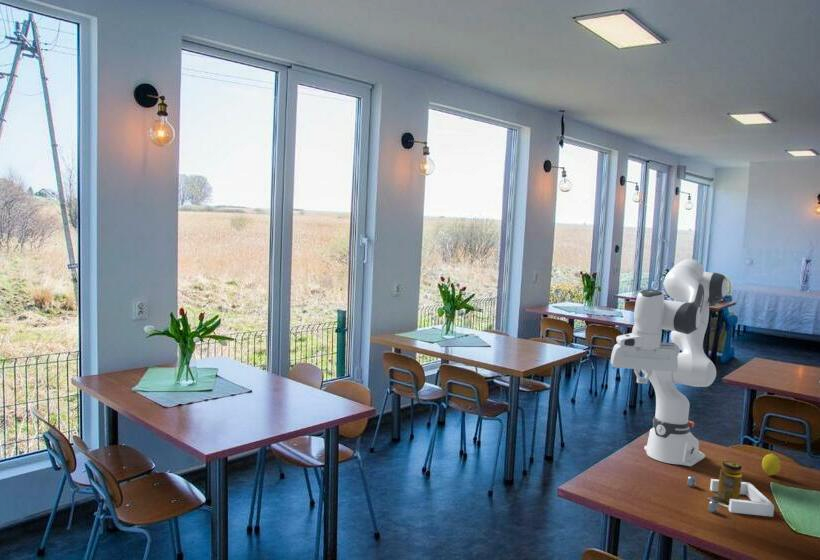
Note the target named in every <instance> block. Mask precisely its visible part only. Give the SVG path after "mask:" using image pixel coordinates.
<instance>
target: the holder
mask: <svg viewBox="0 0 820 560" xmlns="http://www.w3.org/2000/svg"><path fill="white" fill-rule="evenodd" d="M718 484H719V478H718V479H716V478H715V479H714V478H710V485H709V486H710V487H709V490H710V491H711V492H717V493H718ZM740 495H745V496H747V497H748V498H749V500H745V499H739V500H737V499H730V502H729V508H728V511H729V513H734V514H744V515H751V516H752V515H754V516H762V517H772V518H773V517H774V514H775V505H774V503H773V502H771V500H770V499H768V498H767V497H766V496H765V495H764V494H763V493H762V492H760V491H759V489H757V488H756V487H755V485H754V484H752V483H751V482H748V481H747V482H746V481H741V488H740Z"/></svg>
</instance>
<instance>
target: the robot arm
mask: <svg viewBox="0 0 820 560" xmlns="http://www.w3.org/2000/svg"><path fill="white" fill-rule="evenodd" d="M703 267H704V266H703V265H702V264H701V263H700V262H699V261H698V260H696V259H695V258H694V259H692V258H686V259H682V260H681V261H679V262H677V263H676V264H674V266H673V267H672V268H671V269H669V271H668V272H667V273H666V275H665V277H664V280H663V291H664V292H662V291H661V290H658V289H642V290H640V291H639V292H638V293H637V296H636V300H635V305H634V311H633V320H634V321H633V322H634V324H633V327H632V330H631V333H630V332H629V333H626V334H620V335H617V336H616V339H615V340H616V344H614V346H613V348H612V351H611V355H610V356H611V357H610V365H611V366H612V367H613V368H618V369H619V368H620V369H629V370H630V369H632V370H633V373H634V374H635V376H636V383H637V384H645V385H646V384H648V381H650V383H651V385H652V387H653V390H654V393H655V415H654V416H653V419H652V428H650V430H649V434H648V438H647V439H648V440H647V444H646V445H644V448H643V449H644V450H645V452H646V455H647V456H648V457H649V458H651V459H653V460H656V461H658V462H661V463H666V464H672V465H681V466H687V467H693V466H695V465H696V464H697V463H699V462H700V461H702V460H703V459H705V458H706V454H705V453H703V452H702V451H700V450H699V449H700V442H699V440H698V438H696V437H695V435H693V433H692V432H691V429H690V428H694V426H695V422H694V421H691V420H689V413H690V400H689V399H688V397H687V396H686V395H684V394H683V393H682V392H681V391H679V390H678V388H677V387H676V385H675V384H679V385H685V386H690V387H697V388H698V387H699V388H701V387H702V388H707V387H710V386H711V385H712V384H713V383H714V382H715V380H716V377H717V368H716V366H715V364H714V363H713V361H712V360H711V359H710V358H709V357H708V356H707V354H706V353H705V351H704V346H703V345H704V344H703V343H704V338H705V334H706V331H707V328H708V323H709V318H710V306H711V307H715V306H716V304H717V303H719V302H721V301H722V300H724V298H725V297H726V294H727V292H728V289H729V288H728V287H729V284H728V280H727V278H726V276H725V275H724V274H722V273H718V272H710V271H709V272H708V271H704V268H703ZM664 293H665V294H666V296H667V297H670V298H672V299H673V300H667V299H665V297H664V296H665V295H664ZM675 300H676V301H675ZM662 330H667V331H671V332H670V336H669V338H670V341H671V342H666V341H662V334H663V331H662ZM680 351H681V352H680ZM641 372H642V373H643V375H644V376H640V373H641Z"/></svg>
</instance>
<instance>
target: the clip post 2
mask: <svg viewBox="0 0 820 560" xmlns="http://www.w3.org/2000/svg"><path fill="white" fill-rule="evenodd" d="M708 501H709V502H708V509H707V510H708V512H709V513H710V514H715V515H716V514H718V509H719V504H718V502H716V501H713V500H710V499H709V500H708Z"/></svg>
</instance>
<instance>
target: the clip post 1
mask: <svg viewBox="0 0 820 560" xmlns="http://www.w3.org/2000/svg"><path fill="white" fill-rule="evenodd" d="M696 480H697V477H696V476H693V475H688V476H687V482H686V483H687V484H686V485H687V487H689V488H692V489H693V488H694V489H695V488H696V484H697V483H696V482H697V481H696Z"/></svg>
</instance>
